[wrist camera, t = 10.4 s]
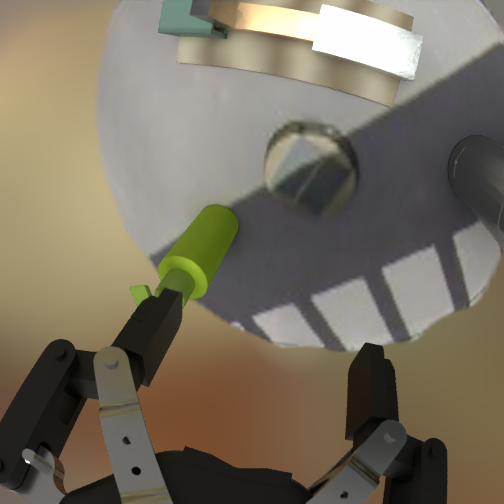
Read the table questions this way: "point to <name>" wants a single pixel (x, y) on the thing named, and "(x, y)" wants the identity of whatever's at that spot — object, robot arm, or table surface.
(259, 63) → the base board
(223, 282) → the table surface
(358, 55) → the outer sleeve
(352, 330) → the table surface
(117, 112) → the table surface
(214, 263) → the soap dispenser
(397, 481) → the robot arm
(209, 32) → the socket block
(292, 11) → the inner bar
